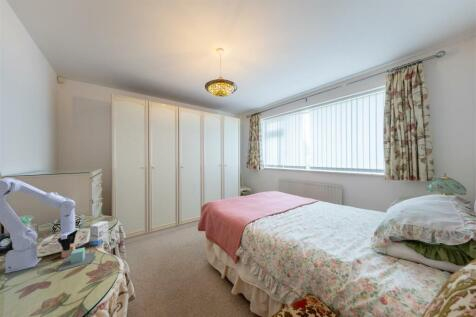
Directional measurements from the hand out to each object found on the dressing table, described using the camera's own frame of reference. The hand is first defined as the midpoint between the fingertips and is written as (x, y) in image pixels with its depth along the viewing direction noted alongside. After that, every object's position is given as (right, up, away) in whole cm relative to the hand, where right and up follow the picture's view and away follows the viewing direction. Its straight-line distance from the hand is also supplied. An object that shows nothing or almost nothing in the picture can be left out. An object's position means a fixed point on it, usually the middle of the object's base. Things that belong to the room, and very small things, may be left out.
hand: (68, 247), depth 96 cm
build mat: (+10, -4, -6) cm, 12 cm away
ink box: (+6, -4, +14) cm, 16 cm away
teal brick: (+10, -4, -6) cm, 12 cm away
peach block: (0, -4, 0) cm, 4 cm away
